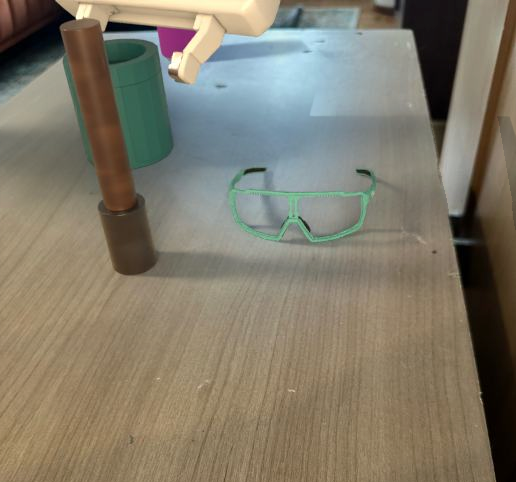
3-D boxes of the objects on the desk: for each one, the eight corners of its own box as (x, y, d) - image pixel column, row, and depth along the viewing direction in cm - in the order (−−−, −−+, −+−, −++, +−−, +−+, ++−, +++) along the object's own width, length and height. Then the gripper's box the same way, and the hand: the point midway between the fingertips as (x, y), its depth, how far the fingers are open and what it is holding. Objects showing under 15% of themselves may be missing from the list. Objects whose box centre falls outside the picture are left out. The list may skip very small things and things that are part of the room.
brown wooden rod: (106, 274, 57) (41, 33, 44) (121, 249, 60) (64, 16, 47) (149, 276, 56) (96, 32, 43) (162, 251, 59) (116, 15, 46)
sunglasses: (217, 243, 59) (212, 192, 56) (248, 182, 71) (245, 137, 68) (372, 249, 57) (375, 195, 54) (376, 185, 69) (379, 138, 66)
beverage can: (214, 59, 99) (204, -29, 91) (165, 67, 98) (151, -22, 90) (205, 45, 105) (196, -39, 97) (159, 52, 104) (145, -32, 96)
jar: (74, 169, 74) (47, 70, 66) (104, 132, 81) (83, 39, 74) (159, 170, 72) (141, 68, 65) (183, 132, 79) (168, 37, 72)
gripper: (61, -126, 52) (10, 39, 52) (283, -130, 43) (219, 67, 44) (109, -71, 58) (63, 77, 58) (313, -66, 49) (257, 108, 49)
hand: (132, 73), depth 51 cm, fingers open, 8 cm apart
